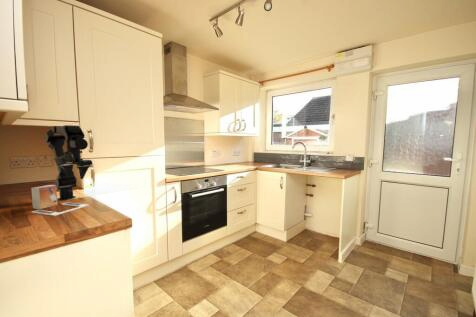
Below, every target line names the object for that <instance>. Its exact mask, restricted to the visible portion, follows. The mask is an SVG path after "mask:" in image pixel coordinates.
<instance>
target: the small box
mask: <svg viewBox="0 0 476 317" xmlns="http://www.w3.org/2000/svg"><path fill="white" fill-rule="evenodd" d="M30 190H31V198H32V199H31V200H32V201H31V202H32V203H31V204H32V209H36V210H44V209H46V208H50V207H51V208H52V207H55V205H56V206H58V199H57V198H58V192H57V191H58V189H56V185H55V184H46V185H40V186H35V187H31V189H30Z"/></svg>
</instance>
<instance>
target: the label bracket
mask: <svg viewBox="0 0 476 317" xmlns="http://www.w3.org/2000/svg"><path fill="white" fill-rule="evenodd" d="M61 205H62V206H68V207H69V206H70V207H71V206H72V207H73V208H71V209H67V210H63V211H61V212H58V211H49V210H44V209H36V210H34V211H31V212H30V213H32V214H37V215H38V214H39V215H45V216H46V215H47V216H54V217H57V216H59V215H62V214H66V213H69V212H72V211H75V210H79V209H82V208H85V207H88V206H90V204H87V203H76V202H63V203H61Z"/></svg>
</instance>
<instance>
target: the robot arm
mask: <svg viewBox="0 0 476 317" xmlns="http://www.w3.org/2000/svg"><path fill="white" fill-rule="evenodd" d="M85 136H86V135H85V133H84V131H83V130H82V128H81V127H80V126H79V125H71V124H70V125H69V124H68V125H67V124H66V125H65V124H64V125H53V126H51V129H49V131H47V132H46V133H45V136H44V142H46V144H47V147H48V148H49V149H51V150H52V153H53V156H54V159H53V160H54V162H55V163H56V167H57V171H58V174H57V176H56V180H55V182H54V185H56V190H57V191H58V193H59V197H57V200H59V201H60V200H62V201H66V200H70V199H74V198H75V199H76V196H77V195H76V196H75V195H74V190H73V188H75V187H77V180H78V179H77V178H76V176H75V173H74V171H73V167H74V165H76V169H78V172H79V179H80V180H83V179H84V178H85V176H86V173H87V172H88V170H89V168H90V167H91V166H92V165H93V161H92V160H91V159H83V158H81V154H82V153H83V151H82V150H85V149H87V148H88V146H89V144H88V143H89V142H88V141H87V140H86V139H85V138H86V137H85ZM65 144H66V145H65ZM64 145H65V146H66V151H64V149H63V148H64Z"/></svg>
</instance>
